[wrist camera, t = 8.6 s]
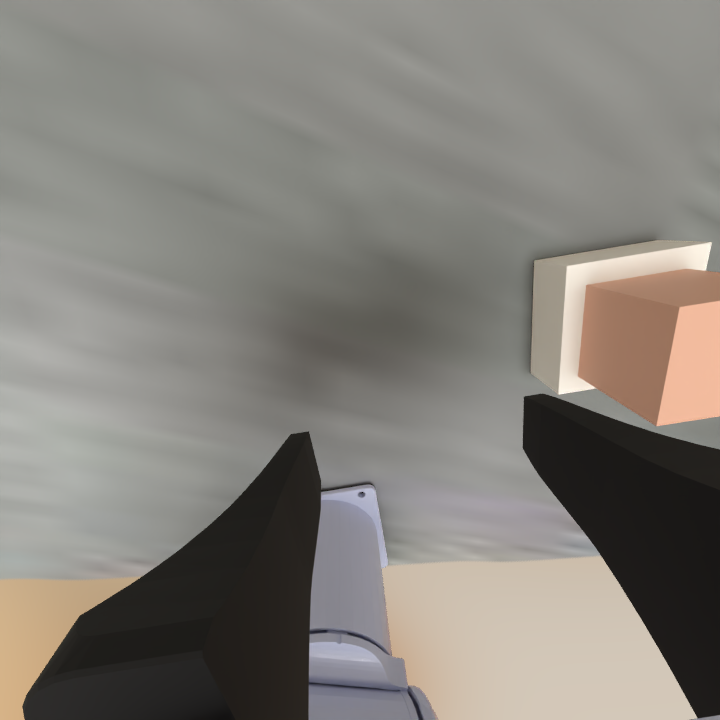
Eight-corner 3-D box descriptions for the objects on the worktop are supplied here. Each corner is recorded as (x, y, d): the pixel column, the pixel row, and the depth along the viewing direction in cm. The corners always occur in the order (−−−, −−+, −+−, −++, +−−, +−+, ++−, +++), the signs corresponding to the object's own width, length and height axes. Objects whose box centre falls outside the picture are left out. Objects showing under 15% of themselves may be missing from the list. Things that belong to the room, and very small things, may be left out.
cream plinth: (530, 373, 22) (558, 394, 19) (534, 260, 19) (566, 266, 16) (639, 355, 22) (683, 374, 19) (657, 239, 19) (711, 242, 16)
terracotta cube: (577, 376, 19) (656, 426, 14) (586, 284, 17) (679, 307, 12) (669, 361, 19) (777, 407, 14) (687, 268, 17) (819, 284, 12)
